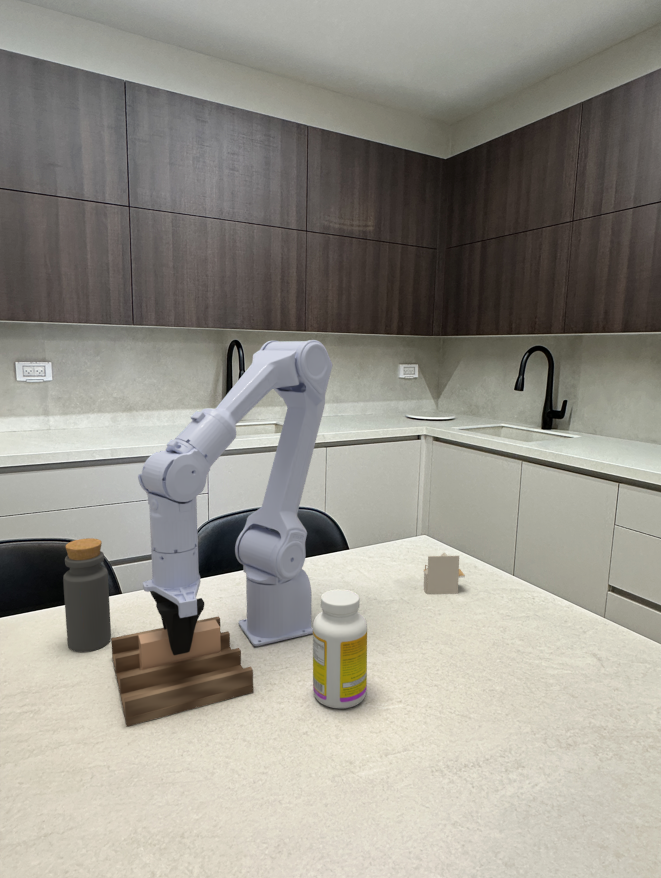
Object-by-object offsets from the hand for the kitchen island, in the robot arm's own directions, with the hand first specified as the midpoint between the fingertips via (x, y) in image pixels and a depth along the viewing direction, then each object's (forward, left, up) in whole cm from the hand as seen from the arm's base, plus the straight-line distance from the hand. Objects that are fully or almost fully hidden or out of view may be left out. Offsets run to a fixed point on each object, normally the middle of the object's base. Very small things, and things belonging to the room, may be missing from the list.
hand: (178, 645), depth 73 cm
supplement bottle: (-17, +13, -4) cm, 22 cm away
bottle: (+10, -14, -4) cm, 18 cm away
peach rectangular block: (0, 0, -3) cm, 3 cm away
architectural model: (-47, -6, -5) cm, 48 cm away
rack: (0, 0, -4) cm, 4 cm away
